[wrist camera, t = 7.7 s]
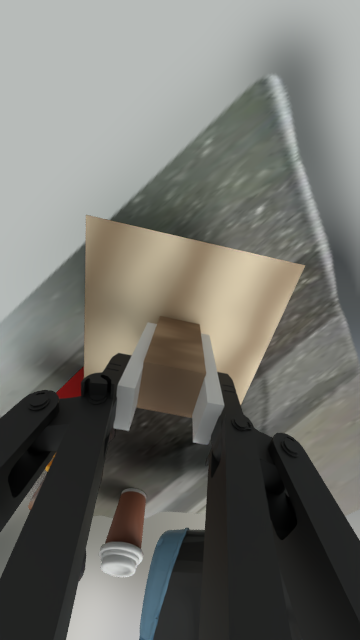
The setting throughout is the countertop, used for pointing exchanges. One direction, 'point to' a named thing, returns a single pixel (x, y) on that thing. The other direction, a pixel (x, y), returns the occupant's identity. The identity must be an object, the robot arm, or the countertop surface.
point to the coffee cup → (125, 535)
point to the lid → (179, 309)
